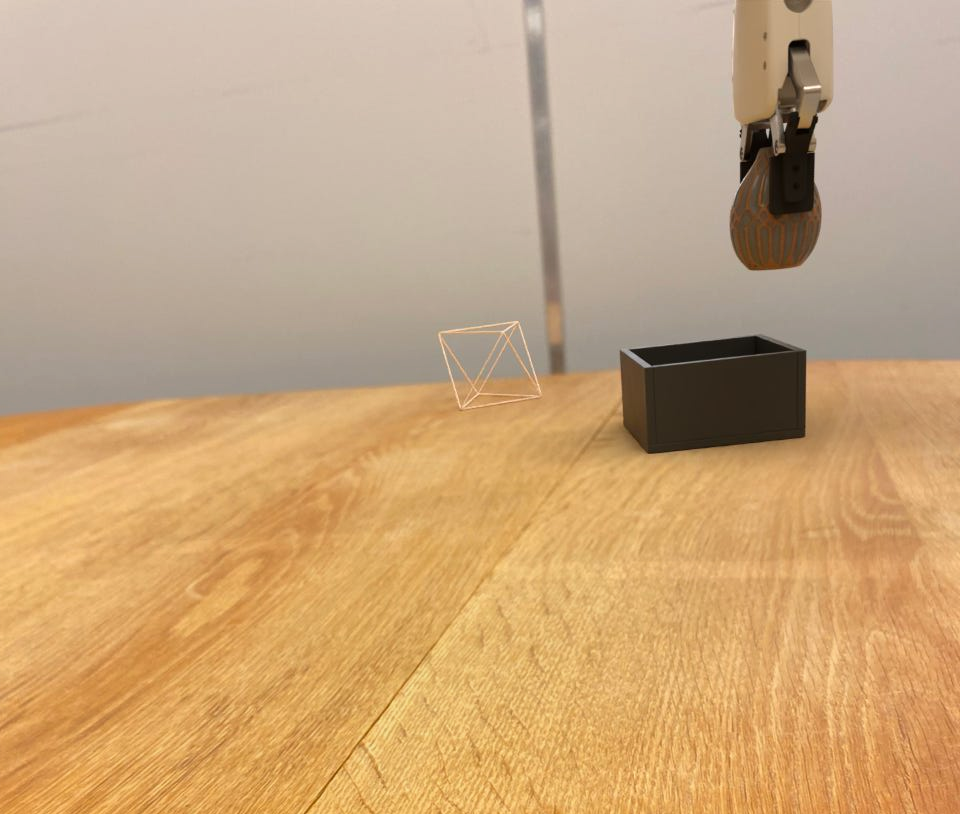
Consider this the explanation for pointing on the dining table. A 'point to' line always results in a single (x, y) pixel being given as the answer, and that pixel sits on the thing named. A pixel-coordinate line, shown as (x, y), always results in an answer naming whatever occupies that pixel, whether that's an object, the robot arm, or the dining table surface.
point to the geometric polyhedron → (492, 366)
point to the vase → (770, 224)
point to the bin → (713, 392)
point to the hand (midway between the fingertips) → (775, 211)
